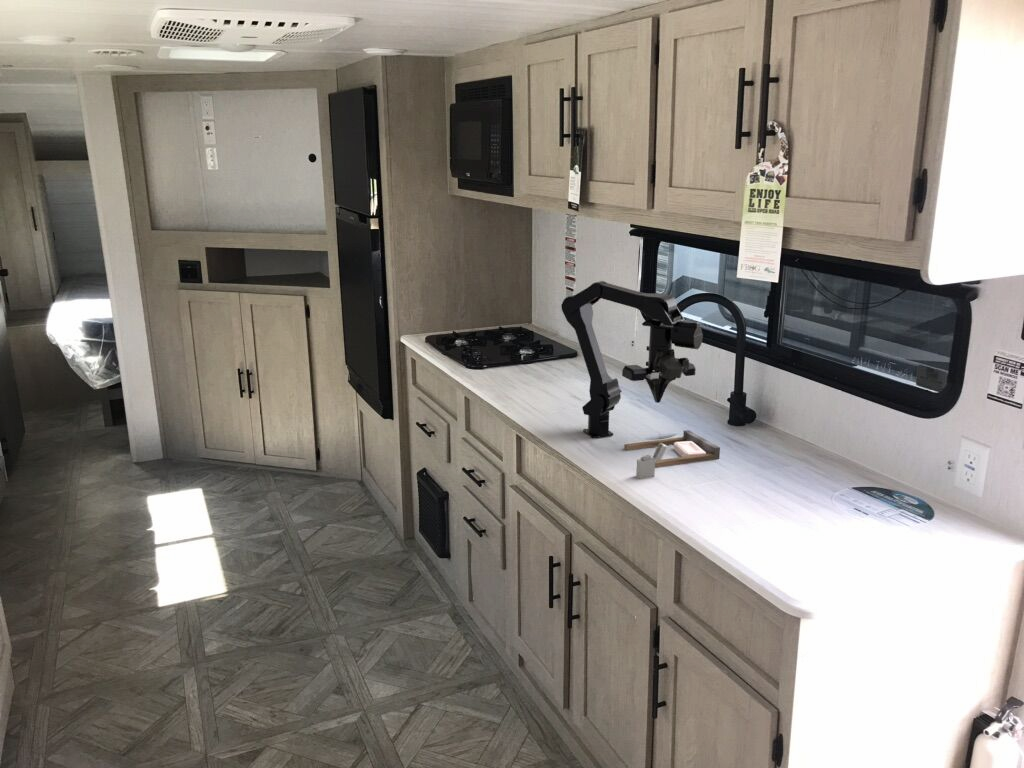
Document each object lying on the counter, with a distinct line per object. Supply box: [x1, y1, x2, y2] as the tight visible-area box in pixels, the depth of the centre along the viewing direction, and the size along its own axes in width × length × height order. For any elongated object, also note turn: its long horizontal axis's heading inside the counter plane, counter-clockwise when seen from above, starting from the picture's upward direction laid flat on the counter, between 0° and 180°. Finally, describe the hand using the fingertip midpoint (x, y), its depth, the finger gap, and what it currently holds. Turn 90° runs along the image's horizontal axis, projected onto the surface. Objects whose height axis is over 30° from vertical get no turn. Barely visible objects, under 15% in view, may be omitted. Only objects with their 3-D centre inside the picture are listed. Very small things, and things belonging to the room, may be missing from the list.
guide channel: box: [623, 429, 721, 469], centre depth 222 cm, size 15×19×3 cm
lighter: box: [635, 443, 668, 479], centre depth 206 cm, size 7×2×8 cm, turn 107°
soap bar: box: [673, 441, 706, 457], centre depth 222 cm, size 5×9×2 cm, turn 11°
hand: (657, 402), depth 225 cm, fingers closed
